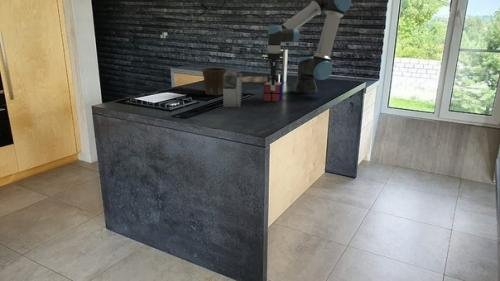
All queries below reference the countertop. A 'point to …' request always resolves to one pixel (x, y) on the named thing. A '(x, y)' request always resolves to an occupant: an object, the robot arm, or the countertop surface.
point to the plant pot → (214, 80)
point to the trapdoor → (231, 79)
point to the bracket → (233, 94)
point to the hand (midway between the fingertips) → (272, 88)
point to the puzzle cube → (272, 92)
